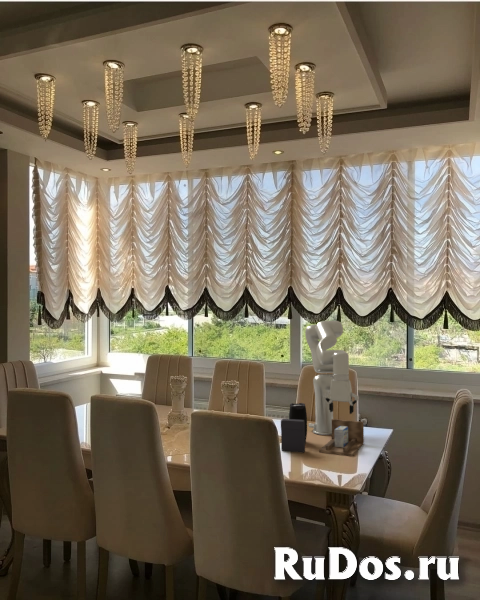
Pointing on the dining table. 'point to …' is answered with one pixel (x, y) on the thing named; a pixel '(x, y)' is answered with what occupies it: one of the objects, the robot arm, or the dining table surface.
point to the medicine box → (341, 436)
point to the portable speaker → (299, 414)
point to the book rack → (353, 438)
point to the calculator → (293, 435)
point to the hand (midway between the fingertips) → (341, 412)
